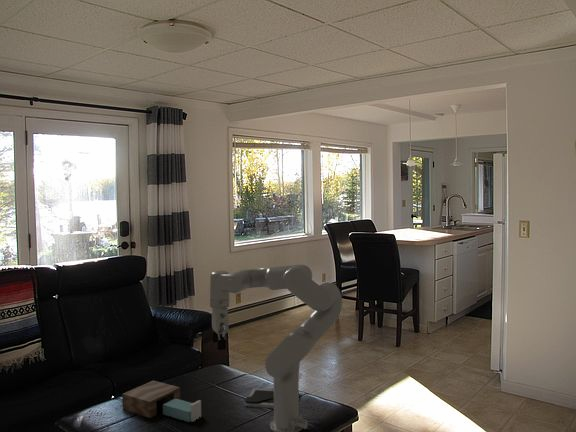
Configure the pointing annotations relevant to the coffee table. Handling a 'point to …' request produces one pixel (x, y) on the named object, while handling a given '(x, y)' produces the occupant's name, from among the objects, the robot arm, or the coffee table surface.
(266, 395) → the picture frame
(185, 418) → the teal shell
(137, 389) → the walnut rack
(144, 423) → the coffee table surface
